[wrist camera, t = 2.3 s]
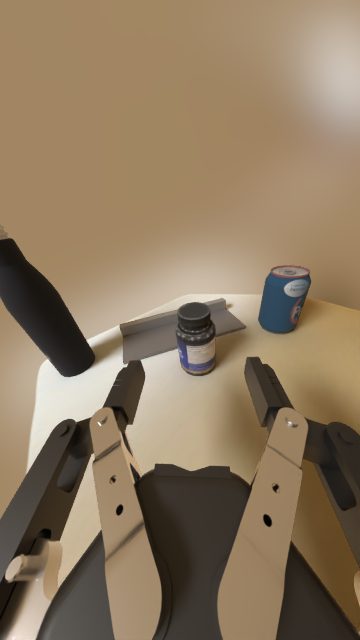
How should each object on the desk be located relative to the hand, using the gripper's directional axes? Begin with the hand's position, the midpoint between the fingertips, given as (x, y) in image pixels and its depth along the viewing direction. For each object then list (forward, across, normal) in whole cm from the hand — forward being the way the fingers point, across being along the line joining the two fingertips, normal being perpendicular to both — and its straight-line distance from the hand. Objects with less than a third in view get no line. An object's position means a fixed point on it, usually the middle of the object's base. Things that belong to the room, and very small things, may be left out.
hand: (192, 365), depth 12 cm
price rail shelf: (+20, +3, +12) cm, 24 cm away
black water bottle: (+12, +23, +13) cm, 30 cm away
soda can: (+21, -17, +12) cm, 30 cm away
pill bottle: (+12, 0, +13) cm, 17 cm away
